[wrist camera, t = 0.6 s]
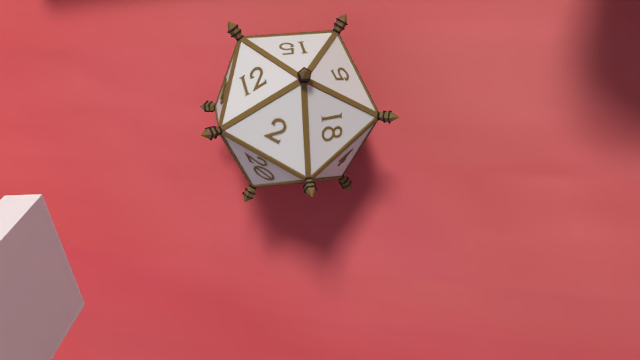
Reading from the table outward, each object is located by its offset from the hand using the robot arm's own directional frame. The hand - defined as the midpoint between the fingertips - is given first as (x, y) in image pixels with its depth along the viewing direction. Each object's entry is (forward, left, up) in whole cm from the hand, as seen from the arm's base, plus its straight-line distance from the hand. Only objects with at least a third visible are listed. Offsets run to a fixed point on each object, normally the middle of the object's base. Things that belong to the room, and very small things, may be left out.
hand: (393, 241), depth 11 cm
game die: (-1, +6, -20) cm, 21 cm away
